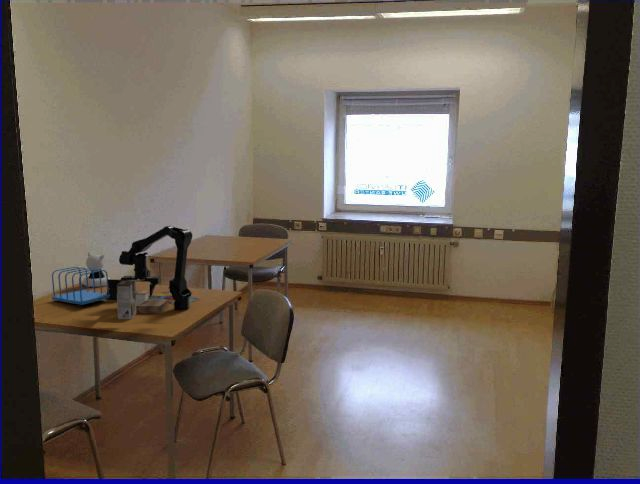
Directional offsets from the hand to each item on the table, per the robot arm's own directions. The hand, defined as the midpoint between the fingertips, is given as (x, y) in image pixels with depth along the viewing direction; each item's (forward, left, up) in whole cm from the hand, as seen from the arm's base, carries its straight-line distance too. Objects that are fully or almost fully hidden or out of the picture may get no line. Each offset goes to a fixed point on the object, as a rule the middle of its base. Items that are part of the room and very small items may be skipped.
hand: (141, 296), depth 278 cm
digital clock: (+17, -26, -4) cm, 32 cm away
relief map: (-12, -14, -5) cm, 19 cm away
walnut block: (-9, +8, -4) cm, 13 cm away
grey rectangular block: (+16, -10, -4) cm, 19 cm away
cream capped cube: (0, 0, -4) cm, 4 cm away
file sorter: (+34, -8, -4) cm, 35 cm away
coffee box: (0, +21, -4) cm, 22 cm away
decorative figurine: (+40, -41, -4) cm, 58 cm away
